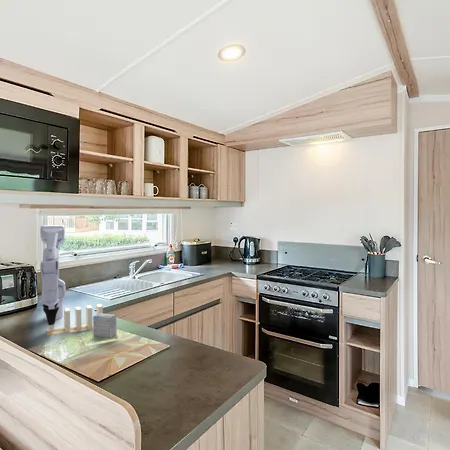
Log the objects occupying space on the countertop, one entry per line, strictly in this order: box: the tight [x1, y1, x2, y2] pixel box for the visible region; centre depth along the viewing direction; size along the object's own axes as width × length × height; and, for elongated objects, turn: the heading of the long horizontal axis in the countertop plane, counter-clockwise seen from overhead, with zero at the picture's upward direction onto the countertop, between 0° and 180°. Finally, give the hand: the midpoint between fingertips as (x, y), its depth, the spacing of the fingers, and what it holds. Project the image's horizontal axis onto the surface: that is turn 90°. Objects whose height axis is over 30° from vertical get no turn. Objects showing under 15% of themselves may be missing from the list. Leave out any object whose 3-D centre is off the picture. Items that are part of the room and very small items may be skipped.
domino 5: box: [95, 303, 104, 315], centre depth 146 cm, size 5×2×8 cm, turn 31°
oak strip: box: [46, 322, 93, 337], centre depth 142 cm, size 8×24×1 cm, turn 121°
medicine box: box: [92, 313, 118, 338], centre depth 134 cm, size 8×4×9 cm, turn 74°
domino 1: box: [47, 324, 55, 332], centre depth 136 cm, size 5×2×8 cm, turn 31°
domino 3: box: [74, 306, 82, 330], centre depth 141 cm, size 5×2×8 cm, turn 31°
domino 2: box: [63, 307, 71, 332], centre depth 139 cm, size 5×2×8 cm, turn 31°
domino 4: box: [85, 304, 93, 328], centre depth 144 cm, size 5×2×8 cm, turn 31°
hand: (50, 322), depth 136 cm, fingers closed on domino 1, 5 cm apart
